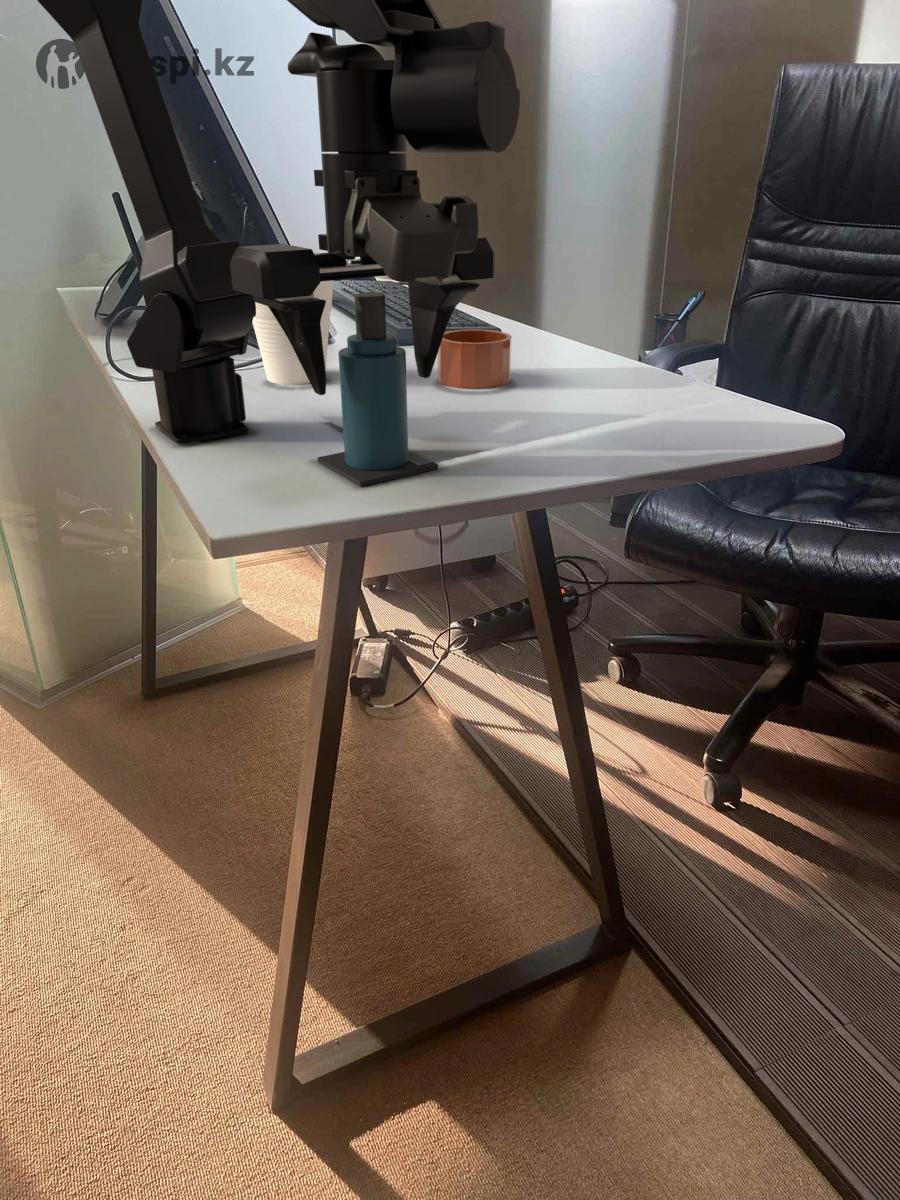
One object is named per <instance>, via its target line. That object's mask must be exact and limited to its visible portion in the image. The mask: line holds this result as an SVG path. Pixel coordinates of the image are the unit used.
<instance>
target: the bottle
mask: <svg viewBox="0 0 900 1200" xmlns="http://www.w3.org/2000/svg"><path fill="white" fill-rule="evenodd" d="M353 297H354V314H355V315H354V317H355V332H356V333H355V334H351V335H349V336H348V337H347V338H346V341H347V342H346V343H347V347H344V348H342V349H339V350H338V352H337V353H338V354H337V355H338V367H339V368H338V369H339V384H340V385H339V386H340V399H341V400H340V401H341V404H340V405H341V418H342V420H341V421H342V435H343V450H344V451H343V452H344V453H345V462H346V464H347V465H348V466H350V467H352V468H356V469H360V470H369V471H379V470H389V469H394V468H397V467H400V466H403V465H404V464H406V463H407V462H408V460H409V430H408V429H409V428H408V425H409V424H408V393H407V392H408V390H407V389H408V388H407V385H408V384H407V351H406V349H404V347H400V346H397V338H396V337H397V336H395V335H393V334H391V333H387V313H386V294H385V293H382V292H376V291H375V292H374V291H373V292H372V291H371V292H368V291H367V292H359V293H358V292H357V293H355V294H354V295H353Z"/></svg>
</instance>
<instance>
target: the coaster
mask: <svg viewBox="0 0 900 1200" xmlns="http://www.w3.org/2000/svg"><path fill="white" fill-rule="evenodd" d="M316 459H317V463H318V464H321V465H322V466H324V467H326V468H327V469H329V470H330V471H333V472H334V473H336V474H338V475H339V476H341V477H343V478H345V479H346V480H348V481H350V482H352V483H354V485H356V486H359V487H365V486H368V485H374V484H377V483H382V482H386V481H391V480H395V479H399V478H404V477H409V476H413V475H417V474H422V473H426V472H430V471H435V470H439V464H438V463H436V462H435V461H432V462H428V463H423V464H417V463H416V462H413V461H411V460H409V459H408V462H407V463H406V464H404V465H403V466H400V467H397V468H394V469H389V470H379V471H369V470H360V469H356V468H352V467H350V466H348V465H347V464H346V462H345V453H344V451H342V452H335V453H331V454H327V455H322V456H317V457H316Z"/></svg>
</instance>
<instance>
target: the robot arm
mask: <svg viewBox="0 0 900 1200" xmlns="http://www.w3.org/2000/svg"><path fill="white" fill-rule="evenodd" d="M36 1H37V2H38V3H39V4H40V6H41V7H42V8H44V10H45V11H46V12H47V13H48V14H49V15H50V17H51V18H52V19H53V20H54V21H55V22H56V23H57V24H58V26H59V27H61V29H62V30H63V31H64V32H65V33H66V34H67V36H69V38H70V39H71V41H72V42H73V45H74V47H75V50H76V53H77V55H78V58H79V60H80V63H81V66H82V68H83V73H84V74H85V77H86V80H87V83H88V86H89V88H90V90H91V94H92V96H93V99H94V102H95V105H96V108H97V111H98V113H99V116H100V118H101V121H102V124H103V126H104V129H105V132H106V135H107V138H108V141H109V143H110V146H111V149H112V152H113V154H114V155H113V156H114V157H115V160H116V163H117V166H118V168H119V171H120V174H121V176H122V179H123V181H124V185H125V189H126V191H127V194H128V196H129V199H130V202H131V205H132V208H133V210H134V212H135V213H134V214H135V216H136V218H137V221H138V224H139V226H140V229H141V232H142V235H143V239H144V247H143V254H142V260H141V267H140V272H139V284H140V287H141V292H142V295H143V300H144V303H145V309H144V311H143V313H142V314H141V317H140V318H139V320H138V322H137V323H136V325H135V327H134V328H133V329H132V332H131V334H130V335H129V337H128V339H127V340H126V344H127V345H126V346H127V348H128V350H129V352H130V354H131V357H132V360H133V362H134V365H135V366H136V368H142V369H148V370H151V371H152V377H153V382H154V389H155V395H156V401H157V407H158V413H159V419H160V420H158V421H155V422H154V426H155V429H156V430H158V431H159V432H161V433H162V434H164V435H165V436H166V437H168V438H169V439H170V440H171V441H173V442H175V443H176V444H179V445H185V444H189V443H197V442H201V441H206V440H207V441H208V440H212V439H217V438H223V437H229V436H235V435H241V434H245V433H249V432H250V426H249V425H247V424H246V423H244V422H245V421H246V420H247V415H246V405H245V397H244V388H243V378H242V375H240V374H239V373H237V372H236V365H235V359H234V358H233V357H235V356H242V355H245V354H246V353H247V350H248V342H249V337H250V332H251V328H252V326H253V322H252V321H253V317H255V316H256V304H255V302H256V303H260V304H263V305H266V306H268V307H269V309H270V310H271V312H272V313H273V315H274V317H275V318H276V320H277V321H278V323H279V324H280V326H281V328H282V329H283V331H284V332H285V334H286V336H287V337H288V339H289V341H290V343H291V345H292V346H293V349H294V351H295V353H296V355H297V357H298V359H299V361H300V363H301V365H302V367H303V369H304V371H305V373H306V375H307V378H308V380H309V382H310V383H309V384H310V386H311V388H312V390H313V392H314V393H315V394H317V395H318V396H325V395H326V393H327V371H326V370H327V369H326V370H325V361H324V352H323V344H322V335H321V327H320V326H321V325H320V321H321V317H322V314H323V311H324V307H325V304H326V300H322V299H319V298H315V297H314V291H315V289H316V288H317V286H318V285H319V284H320V282H321V281H332V280H334V281H341V280H353V279H354V280H355V279H365V278H376V277H388V278H390V279H391V280H393V281H395V282H399V283H407V287H408V288H407V289H408V299H409V309H410V317H411V318H410V321H411V330H412V331H411V333H412V340H413V352H414V361H415V364H416V365H415V366H416V369H417V374H418V376H419V377H420V378H423V379H429V378H430V377H431V375H432V371H433V369H434V366H435V363H436V359H437V358H438V351H439V348H440V345H441V342H442V339H443V336H444V333H445V332H446V330H447V328H448V324H449V322H450V320H451V318H452V315H453V313H454V311H455V309H456V307H457V306H458V305H459V304H460V303H461V301H463V300H464V299H465V298H466V297H467V295H469V294H470V293H473V292H477V291H478V290H479V288H480V285H481V284H480V283H477V282H473V281H476V280H477V281H478V280H486V279H487V280H488V279H489V280H490V279H493V278H495V258H496V257H495V255H496V254H495V252H494V249H493V248H492V245H491V244H490V242H489V240H488V238H487V237H484V236H479V213H478V211H479V210H478V203H477V202H476V201H474V200H473V199H472V198H470V197H469V196H467V195H452V196H450V195H449V196H447V195H446V196H444V197H443V198H442V199H441V201H440V202H426V201H424V200H423V199H422V194H421V185H420V183H421V182H420V177H418V169H408V165H407V153H406V152H407V142H408V145H409V146H411V148H413V150H414V151H416V152H418V153H421V154H425V153H426V154H427V153H429V154H432V153H434V154H435V153H436V154H443V153H444V154H445V153H447V154H448V153H449V154H450V153H451V154H453V153H454V154H458V153H461V154H463V153H465V154H466V153H467V154H468V153H470V154H471V153H472V154H473V153H476V154H478V153H479V154H481V153H483V154H484V153H485V154H486V153H489V154H490V153H491V154H492V153H497V154H498V153H502V152H504V151H506V150H507V148H508V147H509V146H510V145H511V142H512V140H513V139H514V136H515V133H516V130H517V127H518V121H519V117H520V108H521V107H520V105H521V90H520V89H519V88H518V87H517V79H516V73H515V68H514V64H513V62H512V59H511V57H510V55H509V53H508V51H507V49H506V48H505V42H506V41H505V40H506V39H505V37H506V35H505V34H506V29H505V27H504V25H503V24H500V23H496V22H493V21H490V20H489V21H488V20H485V21H474V22H469V23H466V24H464V25H462V26H458V27H447V28H445V27H444V26H443V24H442V22H441V21H440V19H439V17H438V15H437V14H436V12H435V10H434V8H433V7H432V5H431V3H430V1H429V0H286V1H287V2H288V3H289V4H290V5H291V6H293V7H294V8H295V9H296V10H297V11H298V12H300V13H301V14H303V16H305V17H306V18H307V19H308V20H309V21H310V22H313V23H314V24H315V25H317V26H318V27H319V26H320V27H323V28H327V29H333V30H339V31H342V32H343V31H344V32H345V33H346V34H347V35H348V36H349V37H351V39H352V40H354V41H355V42H357V43H351V44H339V45H338V44H337V42H336V41H335V39H334V37H333V36H332V35H330V34H324V33H318V32H314V31H313V32H309V33H308V34H307V38H306V39H305V41H304V43H303V45H302V47H301V48H300V49H299V50H298V51H297V52H296V53H295V54H294V55H293V56H292V58H291V59H290V60H289V62H288V63H287V71H288V72H289V74H291V75H293V76H304V77H311V78H312V77H313V78H316V89H317V91H316V92H317V106H318V121H319V137H320V152H321V155H320V156H321V169H314V170H313V180H314V187H323V199H324V200H323V201H324V216H325V217H324V219H325V231H326V233H319V234H318V235H317V237H318V249H319V250H320V251H325V252H320V253H319V252H318V253H314V250H313V249H312V248H309V247H304V246H297V245H291V244H287V243H276V244H260V245H258V244H257V245H244V246H242V245H241V243H240V242H239V241H238V240H237V239H236V240H235V239H234V240H226V241H222V240H221V239H220V238H219V237H218V236H217V235H216V234H215V233H214V231H212V229H211V227H209V226H208V223H207V222H206V220H205V217H204V214H203V211H202V209H201V206H200V203H199V200H198V197H197V193H196V191H195V188H194V185H193V182H192V178H191V176H190V173H189V169H188V167H187V164H186V161H185V158H184V155H183V152H182V149H181V145H180V143H179V140H178V138H177V135H176V131H175V129H174V126H173V123H172V120H171V116H170V113H169V111H168V107H167V105H166V102H165V100H164V99H165V98H164V96H163V93H162V90H161V87H160V84H159V80H158V78H157V75H156V73H155V70H154V66H153V64H152V60H151V57H150V55H149V51H148V49H147V45H146V43H145V39H144V37H143V34H142V30H141V25H140V24H141V17H142V11H143V4H144V0H36ZM374 46H380V47H385V48H391V49H392V48H393V49H394V59H389V60H388V59H385V58H384V57H383V55H382V54H381V53H380V51H379V50H378V49H377V48H375V47H374Z"/></svg>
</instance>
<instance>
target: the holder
mask: <svg viewBox="0 0 900 1200" xmlns="http://www.w3.org/2000/svg"><path fill="white" fill-rule="evenodd" d="M512 340H513V336H512V335H511V334H509V333H508V332H503V331H499V330H491V329H475V328H474V329H473V328H472V329H457V330H450V331H449V330H448V331H445V333H444V336H443V339H442V342H441V345H440V348H439V351H438V354H437V380H438V383H440V384H442V385H443V386H446V387H450V388H455V389H464V390H465V389H466V390H482V389H485V390H486V389H493V388H500V387H503V386H506V385H507V384H509V383H510V382H511V378H512V375H511V373H512V345H513V344H512V343H513V342H512Z"/></svg>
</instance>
